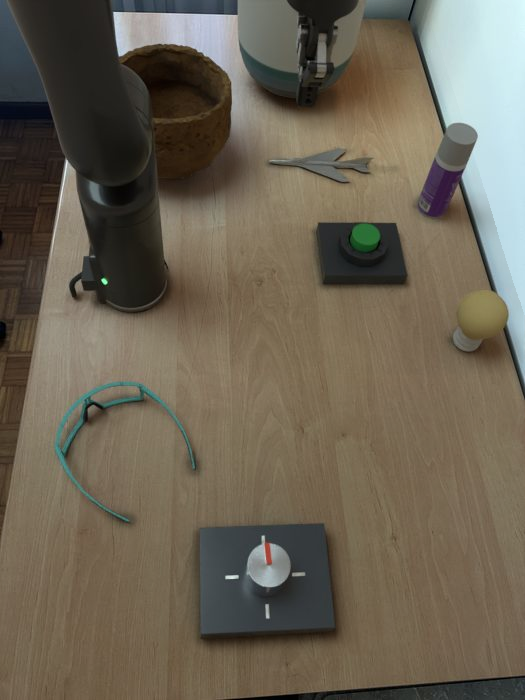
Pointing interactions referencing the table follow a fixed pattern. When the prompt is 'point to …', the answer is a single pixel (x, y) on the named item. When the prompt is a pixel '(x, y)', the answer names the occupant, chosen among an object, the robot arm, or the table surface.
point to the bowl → (184, 106)
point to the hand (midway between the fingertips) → (305, 103)
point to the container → (446, 170)
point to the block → (359, 256)
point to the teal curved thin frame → (90, 402)
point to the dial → (267, 569)
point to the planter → (287, 43)
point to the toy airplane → (327, 163)
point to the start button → (365, 238)
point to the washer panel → (250, 609)
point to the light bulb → (479, 319)
